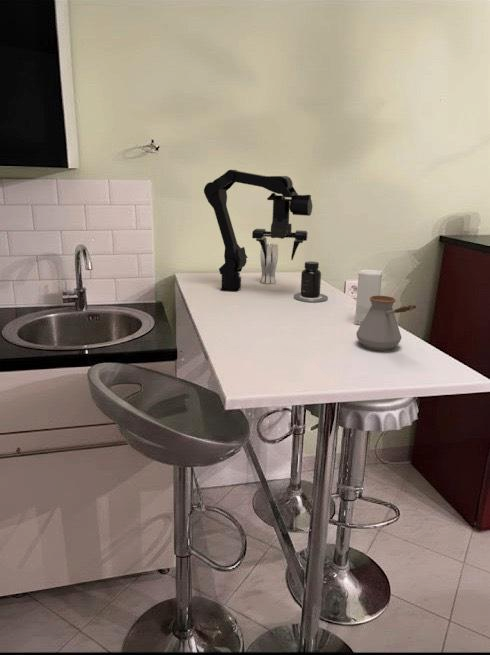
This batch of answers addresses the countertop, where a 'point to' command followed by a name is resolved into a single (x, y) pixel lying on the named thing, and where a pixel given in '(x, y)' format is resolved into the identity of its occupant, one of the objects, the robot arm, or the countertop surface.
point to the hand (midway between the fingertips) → (278, 259)
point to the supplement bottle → (310, 280)
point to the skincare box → (366, 292)
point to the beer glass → (269, 264)
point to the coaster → (318, 299)
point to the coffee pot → (381, 324)
